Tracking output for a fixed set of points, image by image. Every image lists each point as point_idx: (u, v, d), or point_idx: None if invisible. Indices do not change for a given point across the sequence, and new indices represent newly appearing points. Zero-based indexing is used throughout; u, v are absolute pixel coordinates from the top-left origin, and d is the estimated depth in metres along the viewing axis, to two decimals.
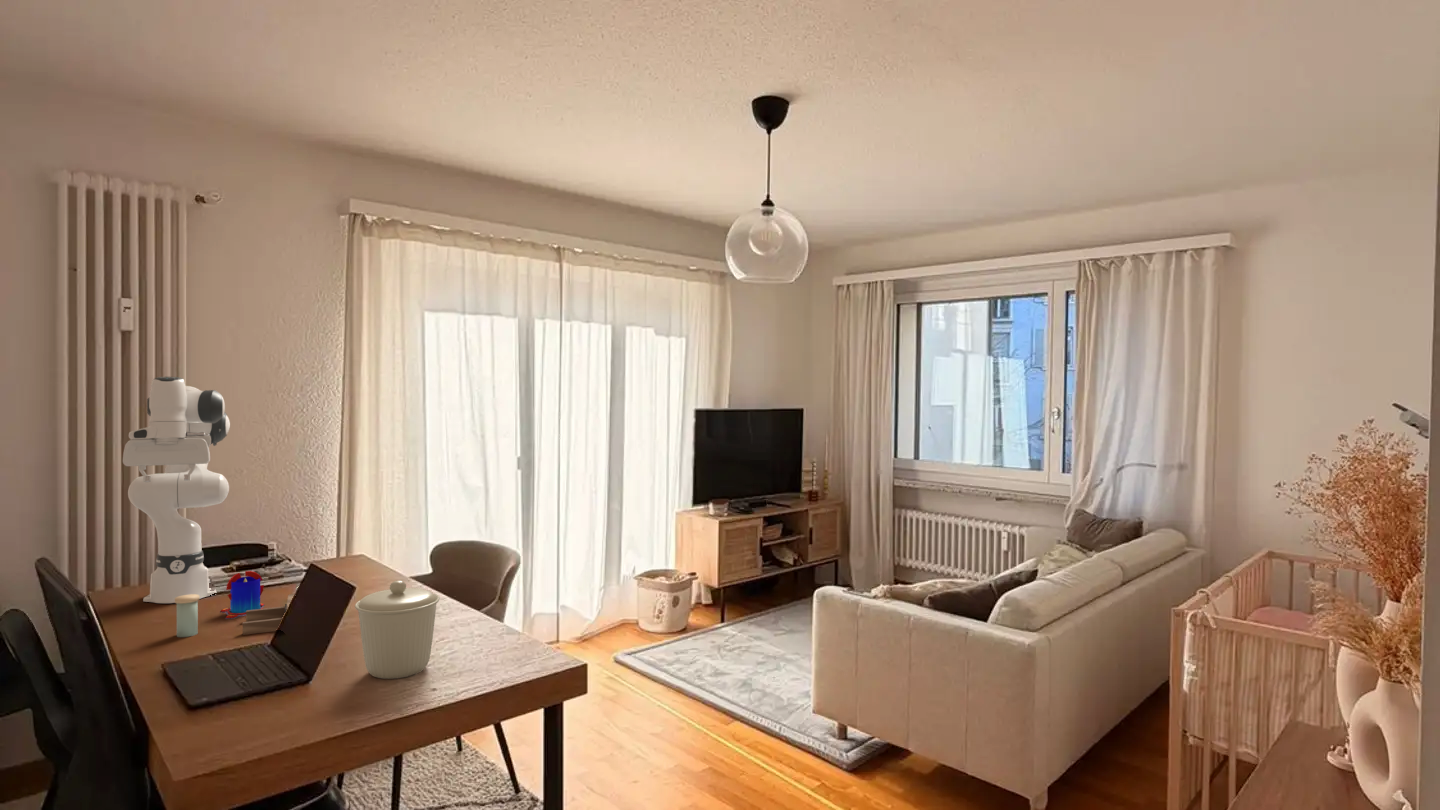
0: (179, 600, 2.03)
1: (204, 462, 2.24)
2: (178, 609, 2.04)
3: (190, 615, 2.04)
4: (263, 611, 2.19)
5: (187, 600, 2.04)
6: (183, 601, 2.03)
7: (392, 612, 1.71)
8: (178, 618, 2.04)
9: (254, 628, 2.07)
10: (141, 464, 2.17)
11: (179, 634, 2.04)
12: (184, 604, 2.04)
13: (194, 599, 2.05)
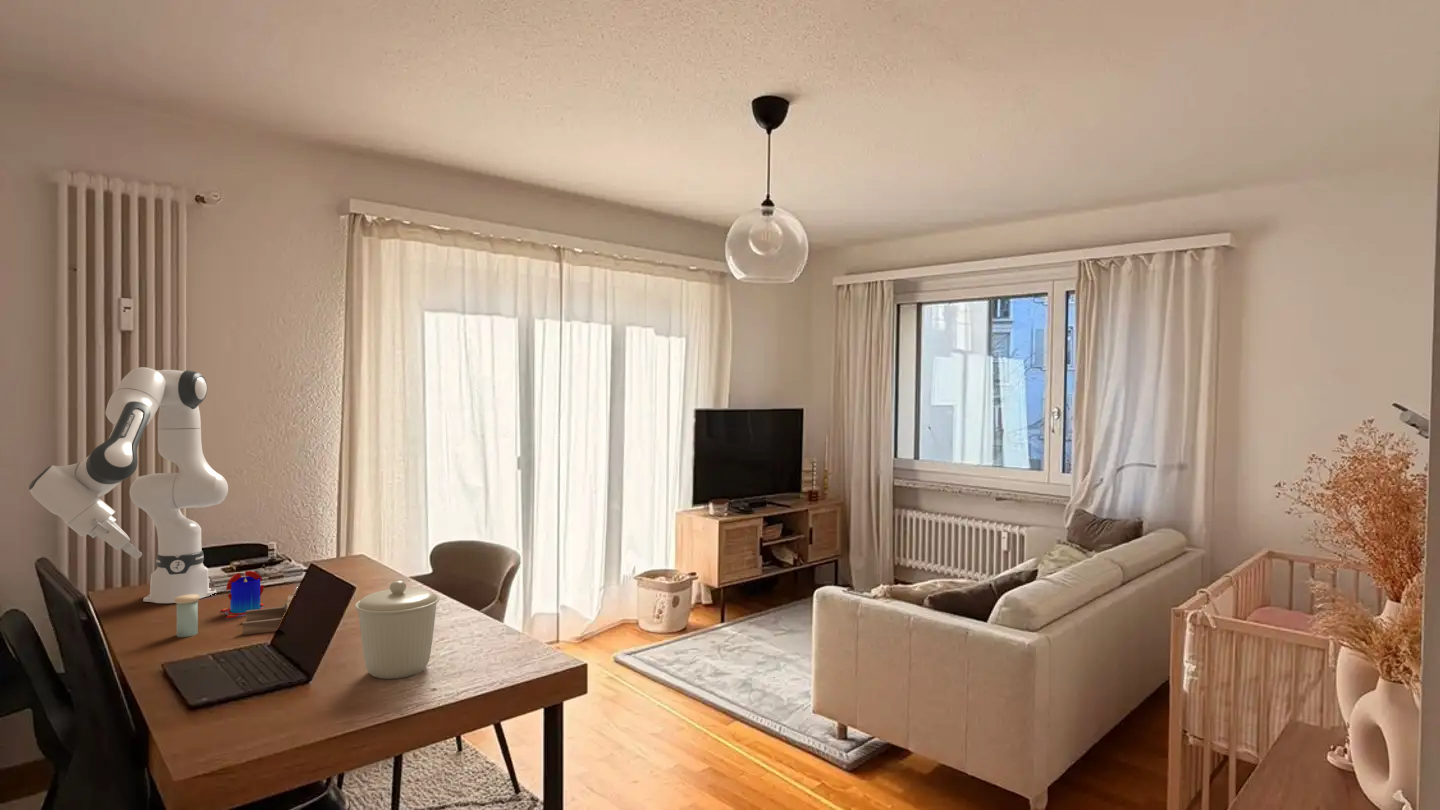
0: (179, 600, 2.03)
1: (117, 549, 1.92)
2: (178, 609, 2.04)
3: (190, 615, 2.04)
4: (263, 611, 2.19)
5: (187, 600, 2.04)
6: (183, 601, 2.03)
7: (392, 612, 1.71)
8: (178, 618, 2.04)
9: (254, 628, 2.07)
10: None
11: (179, 634, 2.04)
12: (184, 604, 2.04)
13: (194, 599, 2.05)
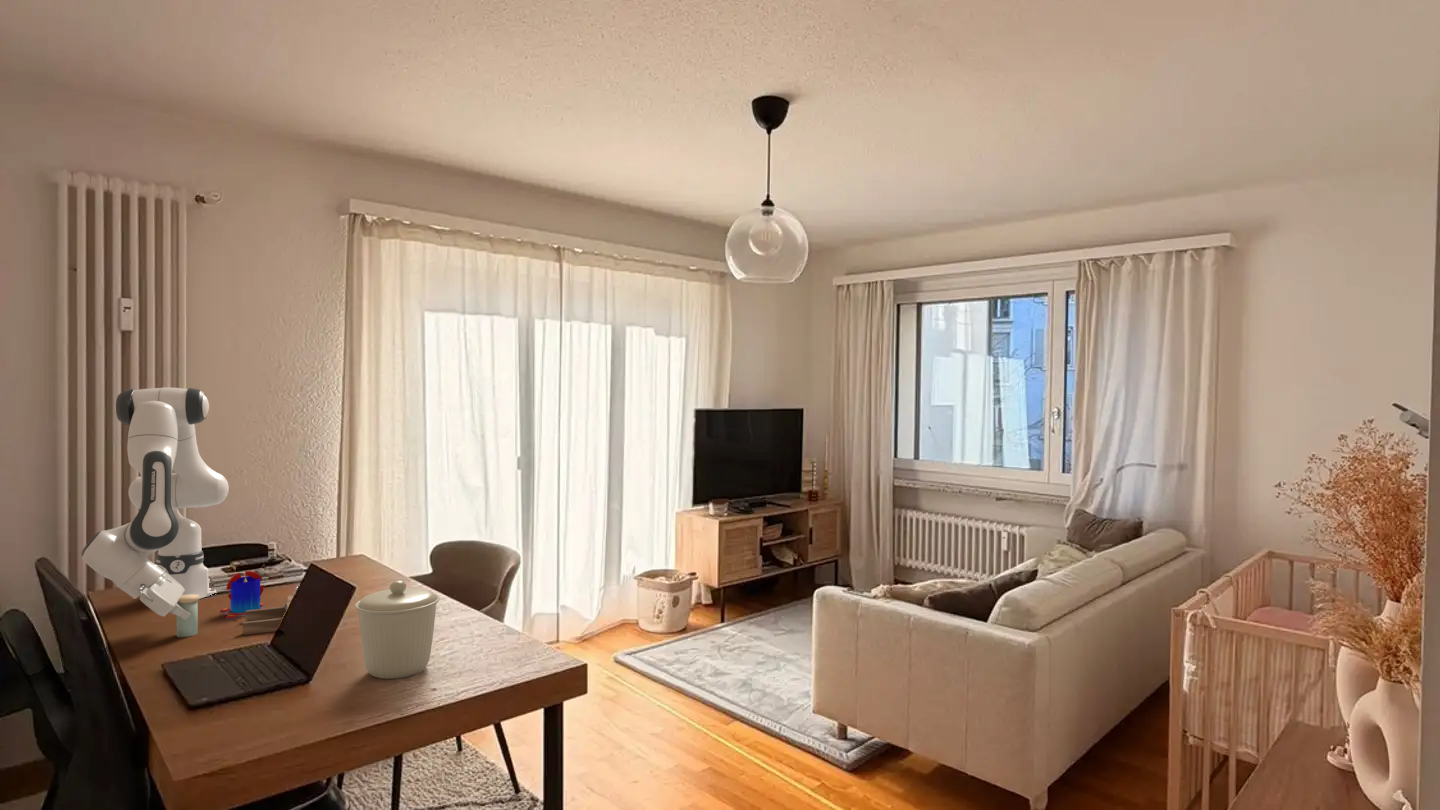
0: (179, 600, 2.03)
1: None
2: None
3: (190, 615, 2.04)
4: (263, 611, 2.19)
5: (187, 600, 2.04)
6: (183, 601, 2.03)
7: (392, 612, 1.71)
8: (178, 618, 2.04)
9: (254, 628, 2.07)
10: None
11: (179, 634, 2.04)
12: (184, 604, 2.04)
13: (194, 599, 2.05)
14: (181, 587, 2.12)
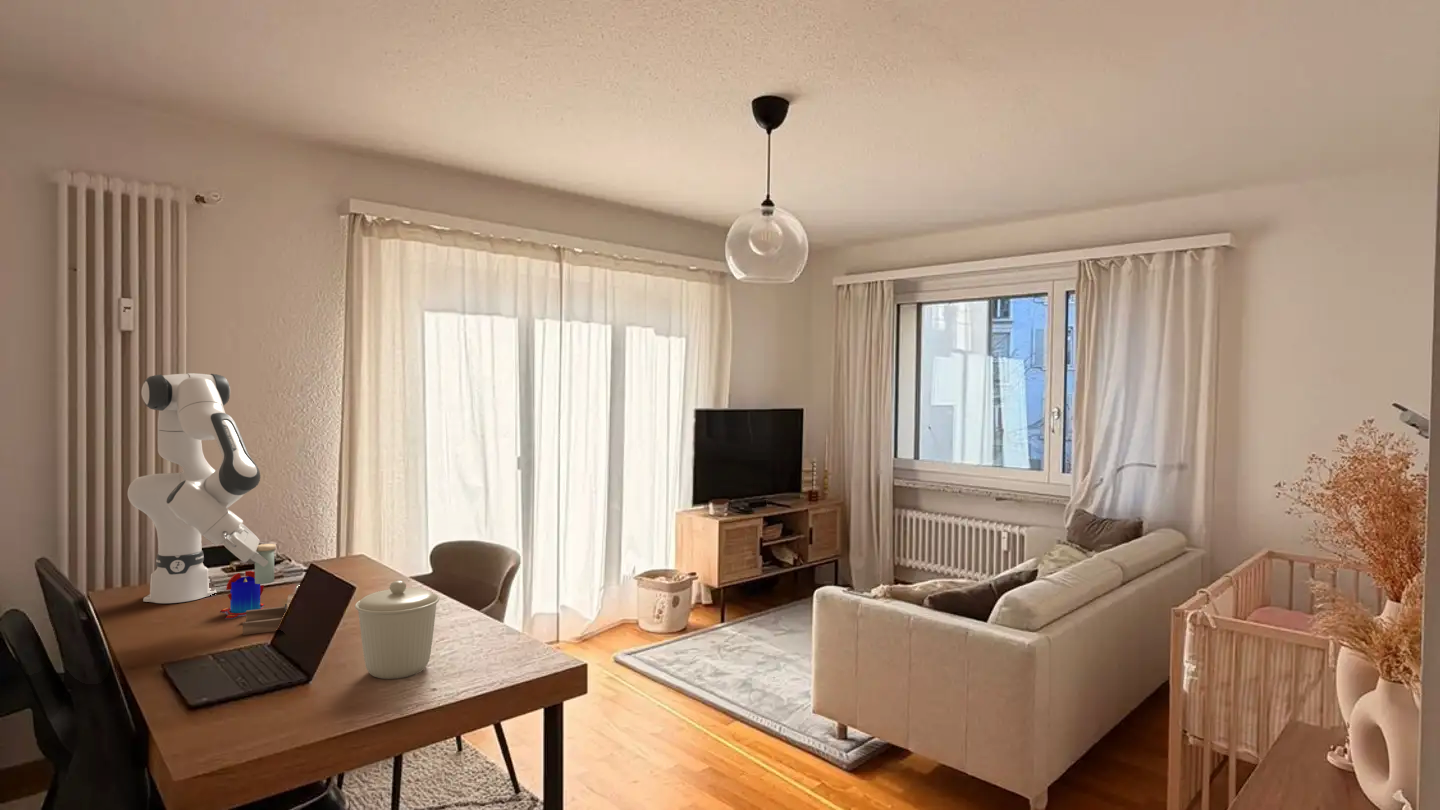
0: (258, 548, 2.11)
1: (244, 561, 2.04)
2: None
3: None
4: (263, 611, 2.19)
5: (265, 548, 2.12)
6: (261, 549, 2.11)
7: (392, 612, 1.71)
8: (256, 565, 2.12)
9: (254, 628, 2.07)
10: None
11: (257, 581, 2.12)
12: (262, 552, 2.12)
13: (271, 547, 2.13)
14: (256, 538, 2.20)
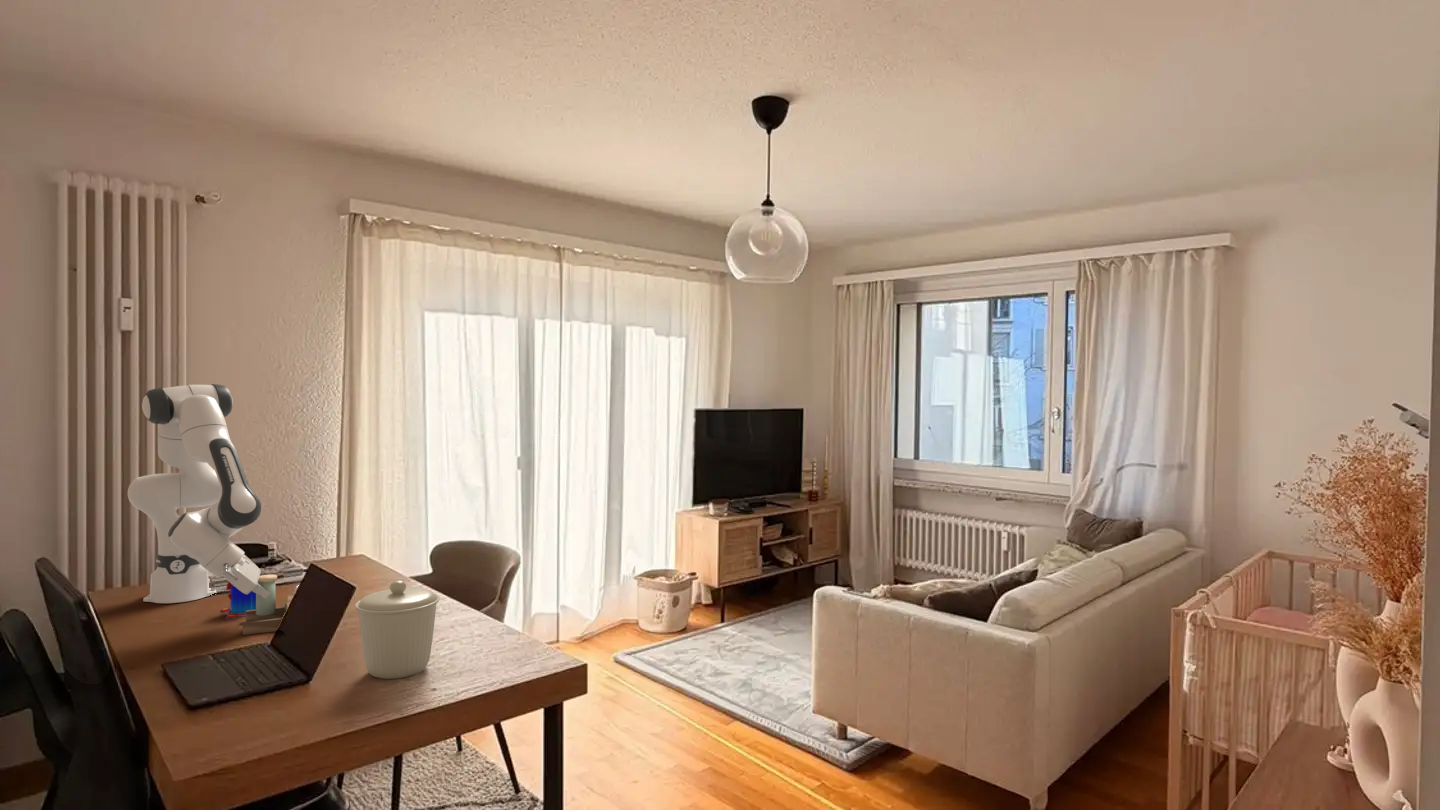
0: (259, 579, 2.11)
1: None
2: None
3: (269, 594, 2.13)
4: None
5: (266, 579, 2.12)
6: (263, 580, 2.11)
7: (392, 612, 1.71)
8: (258, 597, 2.12)
9: (254, 628, 2.07)
10: None
11: (259, 612, 2.12)
12: (264, 583, 2.12)
13: (273, 579, 2.13)
14: (258, 568, 2.20)
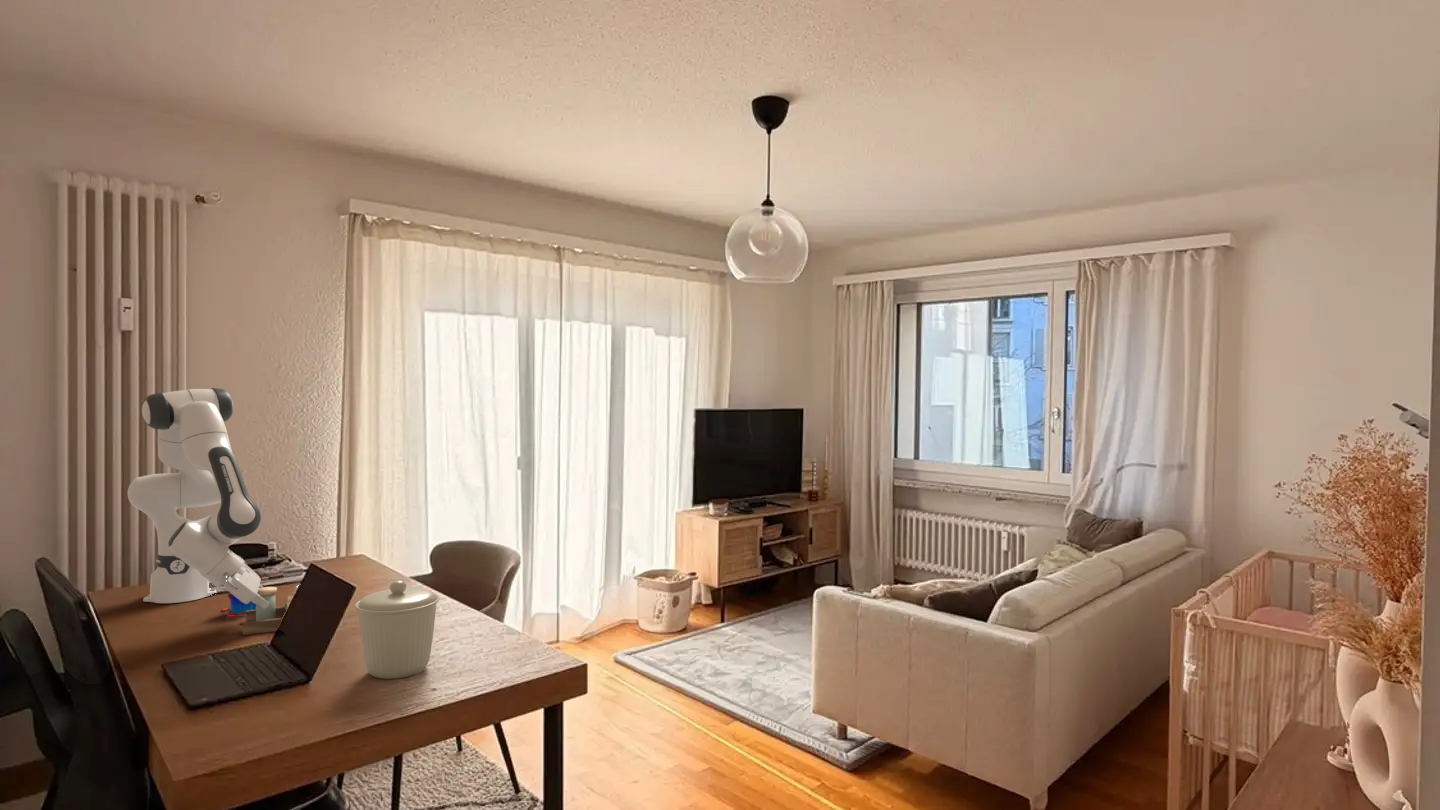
0: (259, 592, 2.12)
1: (246, 603, 2.04)
2: None
3: (269, 607, 2.13)
4: None
5: (266, 592, 2.12)
6: (263, 593, 2.12)
7: (392, 612, 1.71)
8: (258, 609, 2.12)
9: (254, 628, 2.07)
10: None
11: None
12: (263, 596, 2.12)
13: (273, 591, 2.13)
14: (258, 577, 2.20)
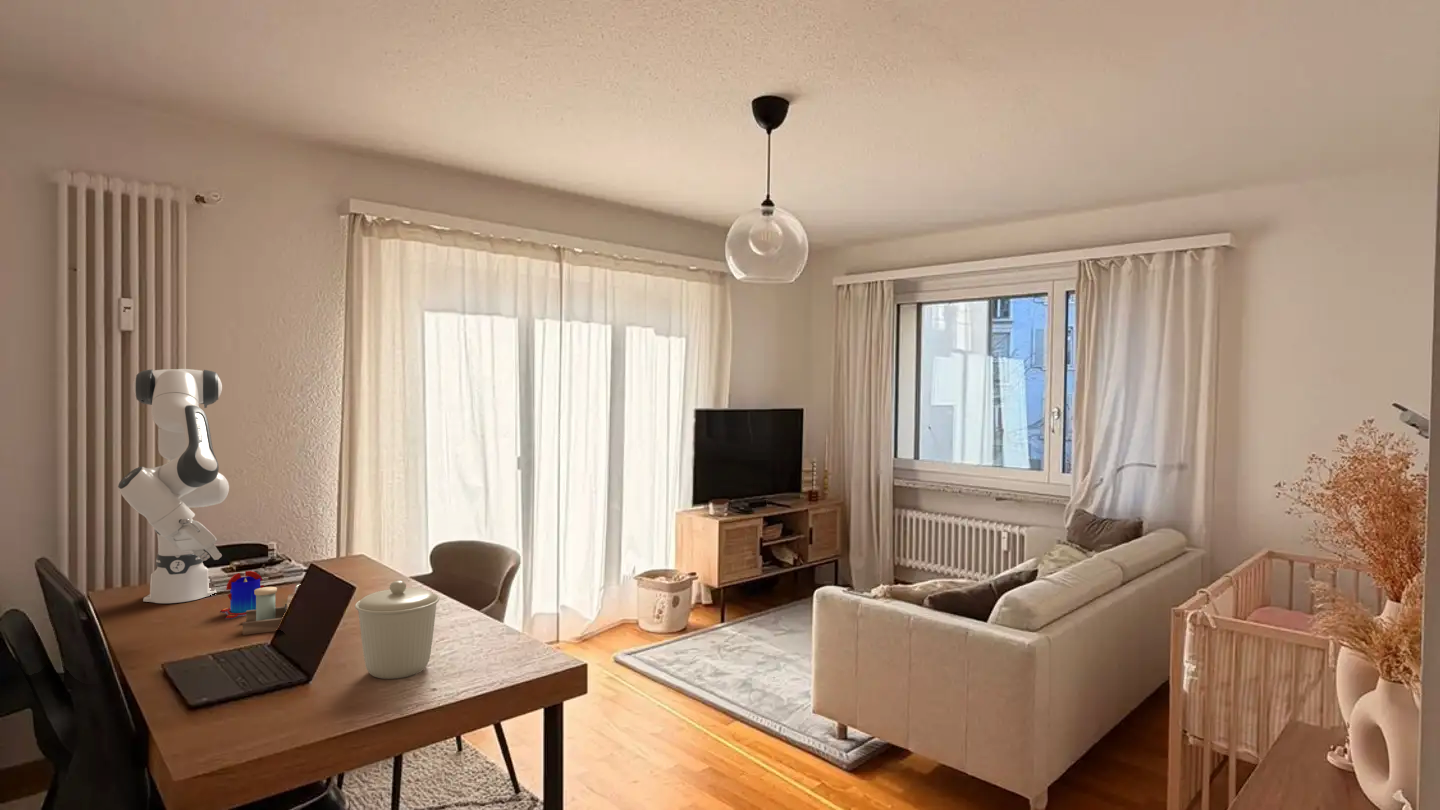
0: (259, 592, 2.12)
1: (205, 548, 2.02)
2: (258, 601, 2.12)
3: (269, 607, 2.13)
4: None
5: (266, 592, 2.12)
6: (263, 593, 2.12)
7: (392, 612, 1.71)
8: (258, 609, 2.12)
9: (254, 628, 2.07)
10: (187, 550, 2.11)
11: None
12: (264, 596, 2.12)
13: (273, 591, 2.13)
14: None
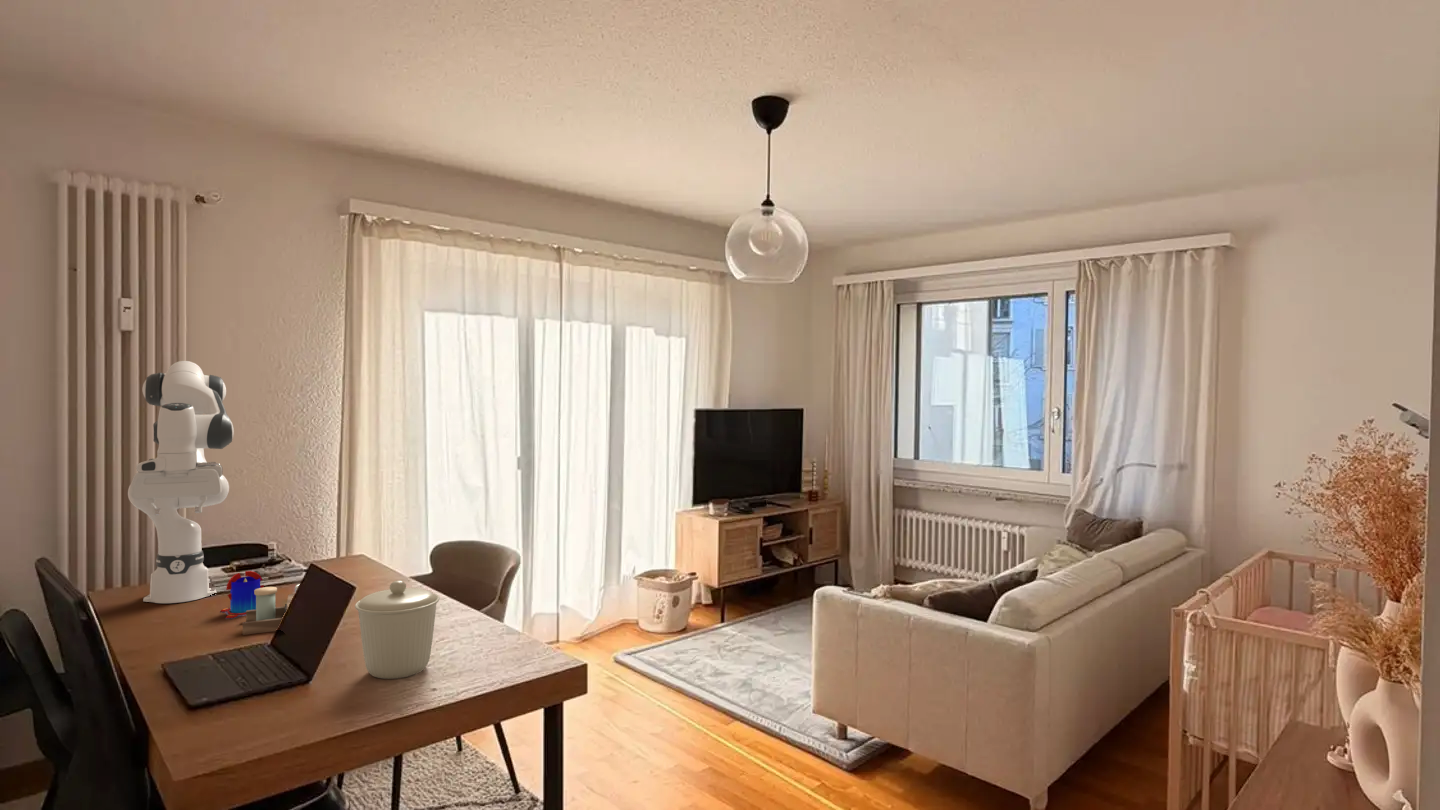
0: (259, 592, 2.12)
1: (215, 494, 2.14)
2: (258, 601, 2.12)
3: (269, 607, 2.13)
4: None
5: (266, 592, 2.12)
6: (263, 593, 2.12)
7: (392, 612, 1.71)
8: (258, 609, 2.12)
9: (254, 628, 2.07)
10: (150, 497, 2.07)
11: None
12: (264, 596, 2.12)
13: (273, 591, 2.13)
14: None
